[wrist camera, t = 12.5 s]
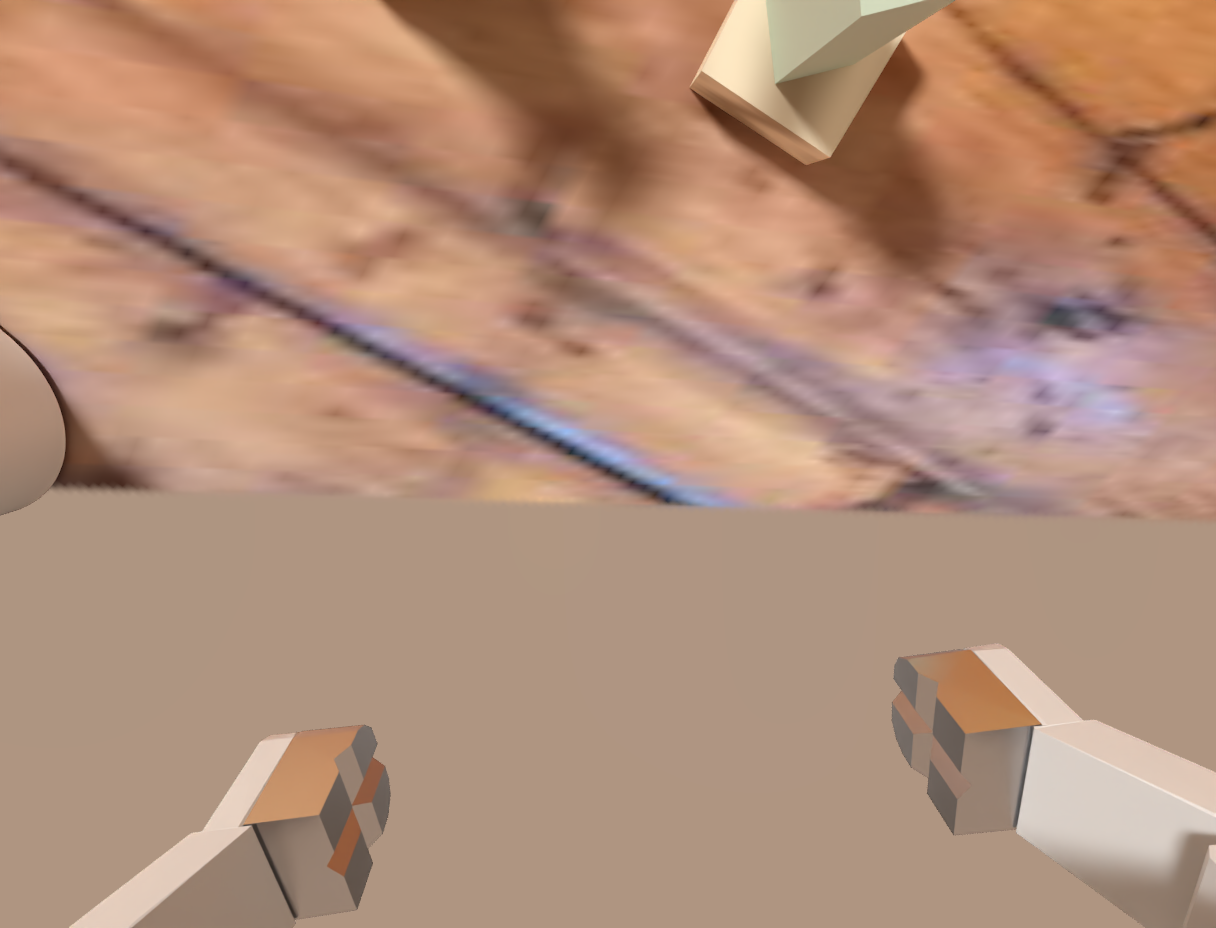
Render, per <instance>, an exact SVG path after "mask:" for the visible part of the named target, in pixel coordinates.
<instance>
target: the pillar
mask: <svg viewBox="0 0 1216 928" xmlns="http://www.w3.org/2000/svg"><path fill="white" fill-rule="evenodd" d="M953 1H955V0H766V6H767V15H768V25H769V34H770V43H771V52H772V61H773V70H774V79H775V84H777V83H781V82H786V81H790V80H794V79H798V78H802V77H806V76H810V75H814V74H818V73H822V72H826V71H830V70H834V69H838V68H842V67H846V66H850V65H854V64H855V63H857V62H858V61H860V60H862V59H863V58H865V57H866V56H868V55H869V54H871V53H873V52H874V51H876V50H877V49H879V48H881V47H882V46H884V45H885V44H887V43H888V42H890V41H892V40H893V39H895V38H896V37H898V36H900V35H901V34H903V33H904V32H906V31H907V30H909V29H911V28H912V27H914V26H915V25H917V24H919V23H920V22H922V21H923V20H925V19H926V18H928V17H930V16H931V15H933V14H934V13H936V12H938V11H939V10H941V9H942V8H944V7H946V6H947V5H949V4H950V3H952V2H953Z"/></svg>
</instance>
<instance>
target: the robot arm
mask: <svg viewBox="0 0 1216 928" xmlns="http://www.w3.org/2000/svg"><path fill="white" fill-rule="evenodd" d="M65 446H66V437H65V427H64V422H63V417H62V414H61V410H60V408H59V405H58V402H57V400H56V397H55V395H54V393H53V391H52V389H51V387H50V385H49V384H48V382H47V380H46V379H45V377H44V375H43V374H42V372H41V371H40V370H39V368H38V367H37V366H36V364H35V363H34V362H33V360H32V359H31V358H30V357H29V356H28V355H27V354H26V352H25V351H24V350H23V349H22V348H21V347H20V346H19V345H18V344H17V343H16V342H15V341H14V340H12V339H11V338H10V337H9V336H8V335H7V334H5V333H4V332H3V331H2V330H1V329H0V515H3V514H6V513H9V512H13V511H16V510H19V509H21V508H23V507H25V506H28V505H30V504H31V503H33V502H35V501H36V500H37V499H39V498H40V497H41V496H42V495H43V494H45V493H46V492H47V491H48V489H49V488H50V487H51V486H52V484H53V483H54V482H55V480H56V478H57V476H58V474H59V472H60V470H61V467H62V464H63V460H64V455H65ZM894 680H895V682H896V683H897V685H898V686H899V687H900V689H901V690H902V691H901V692H900V693H899V695H898V696H897V697H896V698H895V699H894V701H893V702H892V723H893V727H894V732H895V735H896V740H897V742H898V744H899V747H900V749H901V751H902V753H903V755H904V757H905V758H906V760H907V762H908V763H909V765H910V766H911V768H913V769H915V770H916V771H918V772H919V773H921V774H922V775H924V776H926V777H927V778H928V790H927V794H928V795H929V797H930V799H931V800H932V802H933V803H934V805H935V806H936V808H937V810H938V811H939V812H940V814H941V816H942V818H943V819H944V821H945V822H946V824H947V826H948V827H949V829H950V830H951V832H952V833H953V835H962V834H973V833H983V832H994V831H1004V830H1013V829H1014V830H1015V829H1017V830H1016V833H1017V834H1018V835H1020V836H1021V837H1023V838H1024V839H1025V840H1027V841H1028V842H1029V843H1031V844H1032V845H1033V846H1035V847H1036V848H1038V849H1039V850H1040V851H1042V852H1043V853H1044V854H1046V855H1047V856H1048V857H1050V858H1051V859H1053V860H1054V861H1055V862H1057V863H1058V864H1059V865H1061V866H1062V867H1063V868H1065V869H1066V870H1068V871H1069V872H1070V873H1072V874H1073V875H1075V876H1076V877H1077V878H1078V879H1080V880H1081V881H1083V882H1084V883H1085V884H1087V885H1088V886H1089V887H1091V888H1092V889H1094V890H1095V891H1096V892H1098V893H1099V894H1100V895H1102V896H1103V897H1104V898H1106V899H1107V900H1108V901H1110V902H1111V903H1113V904H1114V905H1115V906H1117V907H1118V908H1119V909H1121V910H1122V911H1123V912H1125V913H1126V914H1128V915H1129V916H1130V917H1132V918H1133V919H1134V920H1136V921H1137V922H1138V923H1140V924H1141V925H1143V926H1144V927H1145V928H1216V773H1215V772H1213V771H1211V770H1209V769H1206V768H1204V767H1202V766H1200V765H1197V764H1195V763H1193V762H1191V761H1188V760H1186V759H1184V758H1181V757H1179V756H1177V755H1175V754H1172V753H1170V752H1168V751H1165V750H1163V749H1161V748H1159V747H1156V746H1154V745H1152V744H1149V743H1147V742H1145V741H1143V740H1140V739H1138V738H1136V737H1134V736H1131V735H1129V734H1127V733H1124V732H1122V731H1120V730H1117V729H1115V728H1113V727H1110V726H1108V725H1106V724H1104V723H1102V722H1099V721H1097V720H1086V721H1083V720H1082V719H1081V718H1080V717H1079V716H1078V715H1077V714H1076V713H1075V712H1074V711H1073V710H1072V709H1071V708H1070V707H1069V706H1068V705H1067V704H1066V703H1065V702H1063V701H1062V700H1061V699H1060V698H1059V697H1058V696H1057V695H1056V694H1055V693H1054V692H1053V691H1052V690H1051V689H1050V688H1049V687H1048V686H1047V685H1046V684H1044V682H1042V681H1041V680H1040V679H1039V678H1038V677H1037V676H1036V675H1035V674H1034V673H1033V672H1032V671H1031V670H1030V669H1029V668H1028V667H1027V666H1026V665H1024V663H1022V662H1021V661H1020V660H1019V659H1018V658H1017V657H1016V656H1015V655H1014V654H1013V653H1012V652H1011V651H1010V650H1009V649H1008V648H1006V647H1005V646H1002V645H1000V644H998V643H996V644H990V645H982V646H975V647H969V648H964V649H958V650H951V651H943V652H936V653H928V654H921V655H914V656H906V657H899V658H898V659H897V662H896V664H895V667H894ZM376 746H377V741H376V739H375V736H374V734H373V731H372V728H371V727H369V726H366V725H358V726H348V727H339V728H329V729H319V730H309V731H302V732H297V733H286V734H276V735H269V736H268V737H266V738H265V739H263V740H262V741H260V742H259V744H258V745H257V747H256V748H255V750H254V751H253V753H252V755H251V756H250V758H249V759H248V761H247V762H246V764H245V766H244V767H243V769H242V770H241V772H240V773H239V775H238V776H237V778H236V780H235V781H234V783H233V784H232V786H231V787H230V789H229V791H228V792H227V793H226V795H225V797H224V798H223V800H222V801H221V803H220V805H219V806H218V807H217V809H216V811H215V812H214V814H213V815H212V817H211V818H210V820H209V822H208V823H207V825H206V826H205V828H204V829H203V831H202V832H196V833H191V834H189V835H188V836H187V837H186V838H184V839H183V840H182V841H180V842H179V843H178V844H176V845H175V846H174V847H172V848H171V849H170V850H169V851H167V852H166V853H165V854H163V855H162V856H161V857H160V858H158V859H157V860H156V861H154V862H153V863H152V864H150V865H149V866H148V867H147V868H145V869H144V870H143V871H141V872H140V873H139V874H138V875H136V876H135V877H134V878H132V879H131V880H130V881H128V882H127V883H126V884H125V885H123V886H122V887H121V888H119V889H118V890H117V891H115V892H114V893H113V894H112V895H110V896H109V897H108V898H106V899H105V900H104V901H102V902H101V903H100V904H99V905H97V906H96V907H95V908H93V909H92V910H91V911H89V912H88V913H87V914H86V915H84V916H83V917H82V918H81V919H79V920H78V921H76V922H75V923H74V924H73V925H71V926H70V927H69V928H293V927H294V925H295V924H296V922H295V920H297V919H303V918H310V917H316V916H323V915H329V914H335V913H341V912H348V911H354V910H357V909H358V905H359V903H360V900H361V896H362V894H363V891H364V888H365V885H366V882H367V879H368V876H369V873H370V870H371V867H372V864H373V862H372V859H371V856H370V854H369V851H368V848H369V847H370V846H371V845H372V844H373V843H374V842H375V841H376V840H377V839H378V838H379V837H380V836H381V835H382V834H383V831H384V827H385V824H386V821H387V818H388V813H389V804H390V786H389V778H388V775H387V771H386V768H385V766H384V765H383V764H381V763H380V762H379V761H377V760H376V759H374V758H373V754H374V752H375V749H376Z"/></svg>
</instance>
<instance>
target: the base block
mask: <svg viewBox="0 0 1216 928" xmlns="http://www.w3.org/2000/svg"><path fill="white" fill-rule="evenodd" d="M904 34H905V32H904V33H903V34H901V35H900V36H898V37H896V38H895V39H893V40H892V41H890V42H888V43H887V44H885V45H884V46H882V47H881V48H879V49H877V50H876V51H874V52H873V53H871V54H869V55H868V56H866V57H865V58H863V59H862V60H860V61H858V62H857V63H855V64H854V65H850V66H846V67H842V68H838V69H834V70H830V71H826V72H822V73H818V74H814V75H810V76H806V77H802V78H798V79H794V80H790V81H786V82H781V83H777V84H775V79H774V70H773V61H772V52H771V43H770V34H769V25H768V15H767V6H766V0H734V2H733V4H732V6H731V8H730V10H729V12H728V14H727V16H726V18H725V20H724V21H723V23H722V25H721V27H720V29H719V31H718V33H717V35H716V37H715V39H714V41H713V43H712V45H711V47H710V49H709V51H708V53H707V55H706V56H705V58H704V60H703V62H702V64H701V66H700V68H699V70H698V72H697V74H696V76H695V78H694V80H693V82H692V84H691V86H690V89H692V90H693V91H695V92H696V93H698V94H699V95H701V96H702V97H704V98H705V99H707V100H708V101H710V102H711V103H713V104H714V105H716V106H718V107H719V108H721V109H722V110H724V111H725V112H727V113H728V114H730V115H731V116H733V117H734V118H736V119H737V120H739V121H740V122H742V123H743V124H745V125H746V126H748V127H749V128H751V129H752V130H754V131H755V132H757V133H758V134H760V135H761V136H763V137H764V138H766V139H767V140H769V141H770V142H772V143H773V144H775V145H776V146H778V147H779V148H781V149H782V150H784V151H785V152H787V153H788V154H790V155H791V156H793V157H794V158H796V159H797V160H799V161H800V162H802V163H803V164H805V165H809V164H812V163H815V162H818V161H821V160H824V159H827V158H830V157H831V156H832V154H833V152H834V151H835V149H836V147H837V146H838V144H839V142H840V141H841V139H842V137H843V136H844V134H845V132H846V131H847V129H848V127H849V126H850V124H851V122H852V121H853V119H854V117H855V116H856V114H857V112H858V111H859V109H860V107H861V106H862V104H863V102H864V101H865V99H866V97H867V96H868V94H869V92H870V91H871V89H872V87H873V86H874V84H875V82H876V81H877V79H878V77H879V76H880V74H881V72H882V71H883V69H884V67H885V66H886V64H887V62H888V61H889V59H890V57H891V56H892V54H893V52H894V51H895V49H896V47H897V46H898V44H899V42H900V41H901V39H902V37H903V36H904Z"/></svg>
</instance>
